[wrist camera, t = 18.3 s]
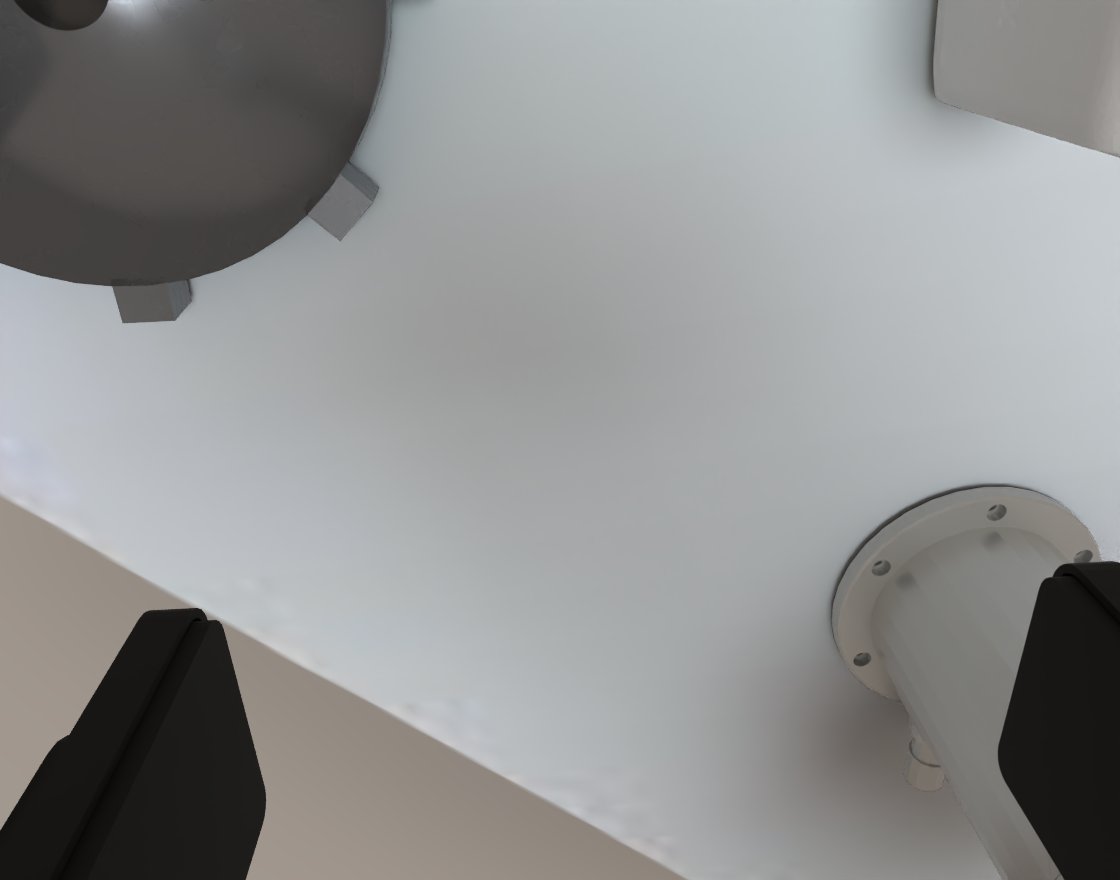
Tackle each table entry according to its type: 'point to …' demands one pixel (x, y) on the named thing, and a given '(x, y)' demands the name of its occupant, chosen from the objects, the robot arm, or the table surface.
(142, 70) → the sprocket
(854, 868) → the table surface
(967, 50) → the photo printer
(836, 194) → the table surface
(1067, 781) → the robot arm
